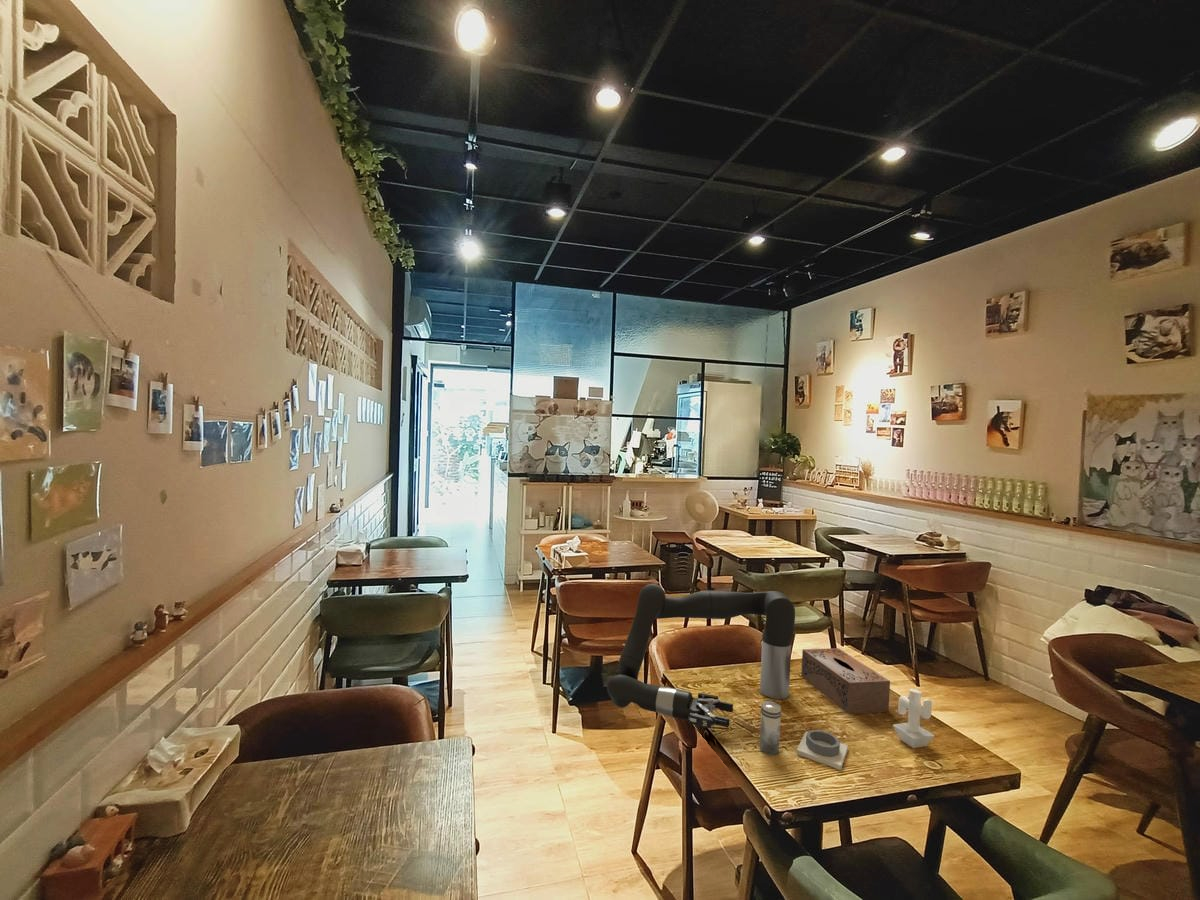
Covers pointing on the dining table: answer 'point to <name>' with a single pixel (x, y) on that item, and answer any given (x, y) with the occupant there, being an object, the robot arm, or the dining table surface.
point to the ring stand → (823, 748)
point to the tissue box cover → (846, 680)
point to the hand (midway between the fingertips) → (731, 715)
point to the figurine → (914, 719)
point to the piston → (770, 727)
